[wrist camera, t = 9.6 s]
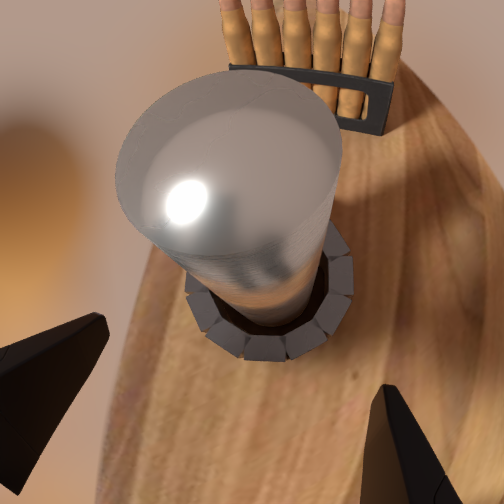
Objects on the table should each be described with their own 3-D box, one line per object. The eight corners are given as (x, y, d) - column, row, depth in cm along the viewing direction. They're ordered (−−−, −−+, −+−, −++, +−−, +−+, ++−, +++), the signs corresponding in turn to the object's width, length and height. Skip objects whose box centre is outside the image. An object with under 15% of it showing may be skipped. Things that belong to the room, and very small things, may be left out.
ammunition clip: (382, 119, 20) (414, -23, 9) (382, 137, 19) (420, -12, 8) (243, 100, 22) (210, -37, 11) (237, 116, 22) (198, -26, 10)
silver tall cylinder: (254, 340, 16) (154, 304, 5) (219, 272, 18) (100, 130, 6) (325, 302, 17) (391, 178, 5) (287, 236, 18) (267, 49, 6)
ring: (239, 385, 16) (230, 390, 13) (179, 258, 18) (163, 245, 16) (371, 312, 16) (384, 305, 14) (298, 195, 19) (298, 173, 16)
